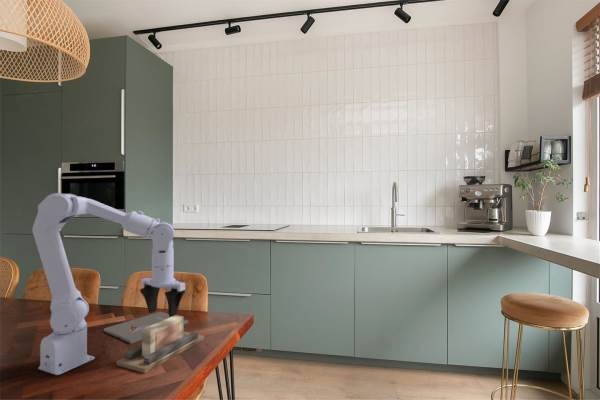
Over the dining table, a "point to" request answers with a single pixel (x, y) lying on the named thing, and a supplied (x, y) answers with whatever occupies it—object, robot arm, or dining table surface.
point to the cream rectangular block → (162, 334)
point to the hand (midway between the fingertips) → (162, 313)
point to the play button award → (125, 328)
